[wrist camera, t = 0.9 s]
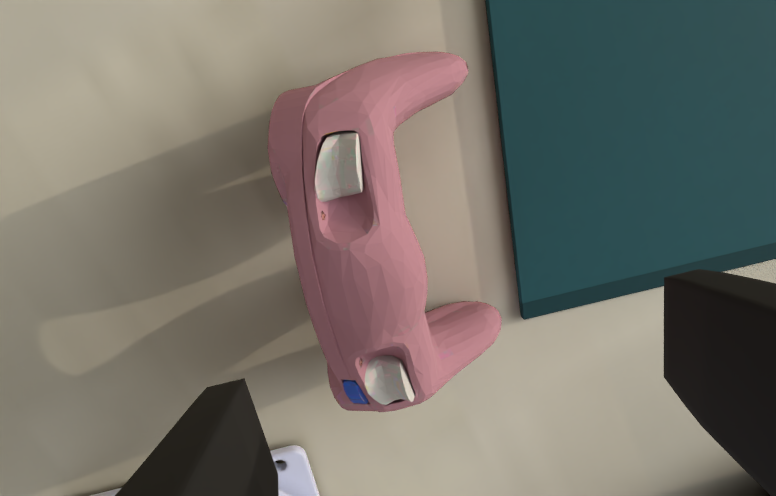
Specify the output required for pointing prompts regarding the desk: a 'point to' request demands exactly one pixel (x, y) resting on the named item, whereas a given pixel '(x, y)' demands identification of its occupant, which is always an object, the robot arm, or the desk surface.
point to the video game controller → (369, 233)
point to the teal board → (634, 141)
